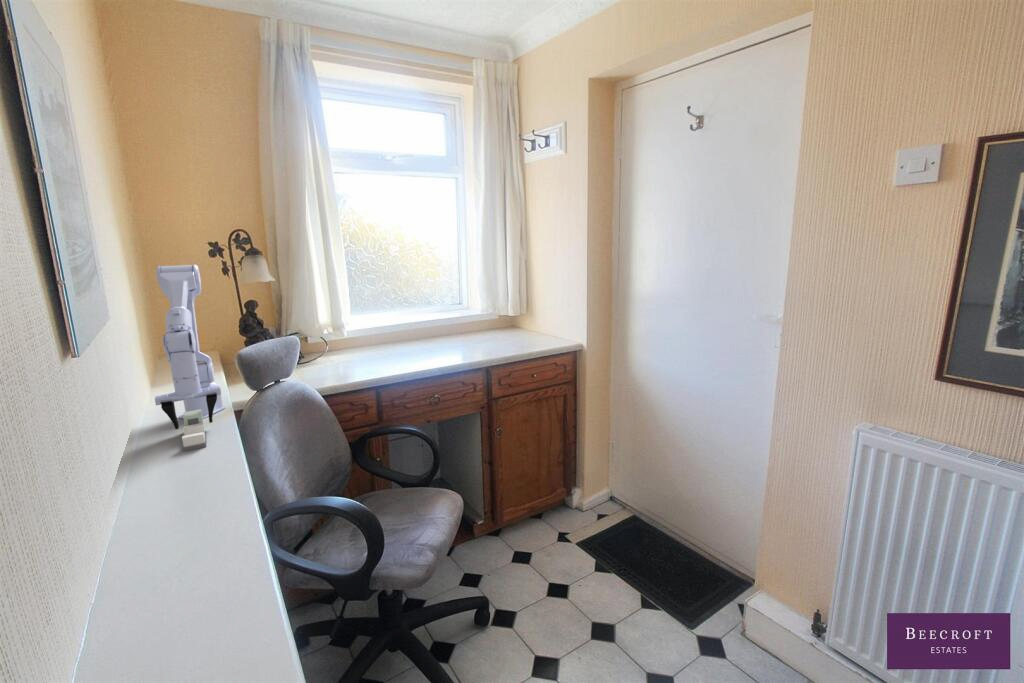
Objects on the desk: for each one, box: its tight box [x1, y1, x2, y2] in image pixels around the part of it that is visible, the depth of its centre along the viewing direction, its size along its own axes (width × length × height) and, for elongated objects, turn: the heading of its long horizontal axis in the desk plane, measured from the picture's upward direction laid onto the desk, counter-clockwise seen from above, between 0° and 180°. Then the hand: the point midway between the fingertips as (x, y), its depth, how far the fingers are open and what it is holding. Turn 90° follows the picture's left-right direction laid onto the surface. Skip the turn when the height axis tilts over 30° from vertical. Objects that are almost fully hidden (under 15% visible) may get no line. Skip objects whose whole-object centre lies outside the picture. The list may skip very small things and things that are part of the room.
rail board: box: [181, 422, 207, 452], centre depth 123 cm, size 9×5×3 cm, turn 32°
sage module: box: [182, 409, 205, 426], centre depth 129 cm, size 4×4×6 cm
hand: (194, 424), depth 129 cm, fingers open, 7 cm apart
